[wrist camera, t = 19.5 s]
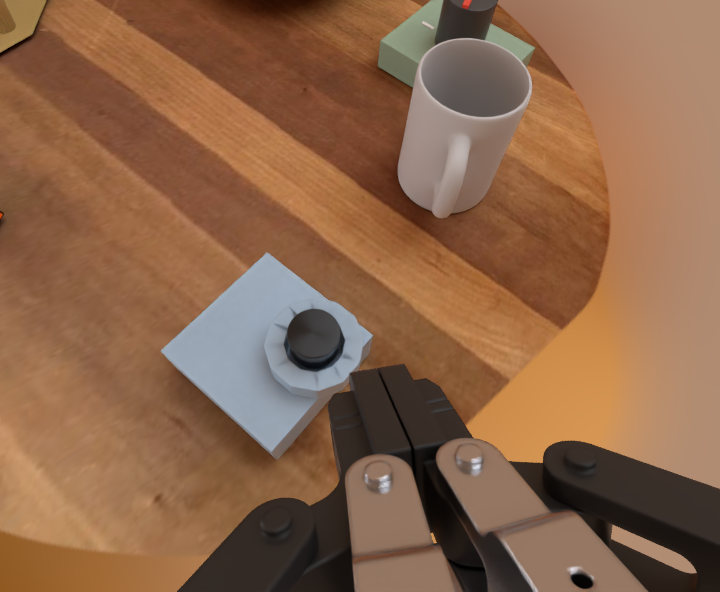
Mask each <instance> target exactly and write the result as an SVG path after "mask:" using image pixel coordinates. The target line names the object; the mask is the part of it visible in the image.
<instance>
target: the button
mask: <svg viewBox="0 0 720 592" xmlns="http://www.w3.org/2000/svg"><path fill="white" fill-rule="evenodd" d="M287 339H288V344H289V348H290V352H291V355H292V356H293V358H294V359H295V360H296V361H297V362H298V363H299V364H301V365H302V366H305V367H308V368H320V367H324V366H326V365H328V364H329V363H331V362H332V361H333V360H334V359H335V357H336V356H337V354H338V351H339V347H340V327H339V324H338V322H337V320H336V319H335V318H334V317H333V316H332V315H331V314H330V313H328V312H326V311H324V310H320V309H308V310H305V311H302V312H300V313H299V314H297V315H296V316H295V317H294V318H293V319H292V320H291V322H290V324H289V326H288V329H287Z"/></svg>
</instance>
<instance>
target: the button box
mask: <svg viewBox="0 0 720 592" xmlns="http://www.w3.org/2000/svg"><path fill="white" fill-rule="evenodd" d="M308 309H320V310H324V311H326V312H328V313H330V314H331V315H332V316H333V317H334V318H335V319H336V320H337V322H338V324H339V327H340V347H339V351H338V354H337V356H336V357H335V359H334V360H333V361H332V362H331V363H329V364H328V365H326V366H324V367H320V368H308V367H305V366H302V365H301V364H299V363H298V362H297V361H296V360H295V359H294V358H293V356H292V355H291V352H290V348H289V344H288V339H287V329H288V326H289V324H290V322H291V320H292V319H293V318H294V317H295V316H296V315H297V314H299V313H300V312H302V311H305V310H308ZM372 339H373V335H372V334H371V333H370V332H368V331H367V330H366V329H365V328H363V327H362V326H361V325H359V324H358V322H357V320H356V317H355V316H354V315H352V314H351V313H350V312H349V311H347V310H346V309H345V308H343V307H342V306H341V305H340V304H338V303H337V302H334V301H329V300H327V299H326V298H325V297H324V296H322V295H321V294H320V293H318V292H317V291H316V290H315V289H313V288H312V287H311V286H310V285H308V284H307V283H306V282H304V281H303V280H302V279H301V278H299V277H298V276H297V275H295V274H294V273H293V272H292V271H290V270H289V269H288V268H287V267H285V266H284V265H283V264H281V263H280V262H279V261H278V260H276V259H275V258H274V257H272V256H271V255H270V254H269V253H266V254H265V255H264V256H263V257H262V258H261V259H259V260H258V261H257V262H256V263H255V264H254V265H253V266H252V267H251V268H250V269H249V270H248V271H246V272H245V273H244V274H243V275H242V276H241V277H240V278H239V279H238V280H237V281H236V282H235V283H233V284H232V285H231V286H230V287H229V288H228V289H227V290H226V291H225V292H224V293H223V294H222V295H220V296H219V297H218V298H217V299H216V300H215V301H214V302H213V303H212V304H211V305H210V306H209V307H207V308H206V309H205V310H204V311H203V312H202V313H201V314H200V315H199V316H198V317H197V318H196V319H195V320H193V321H192V322H191V323H190V324H189V325H188V326H187V327H186V328H185V329H184V330H183V331H182V332H180V333H179V334H178V335H177V336H176V337H175V338H174V339H173V340H172V341H171V342H170V343H169V344H167V345H166V346H165V347H164V348H163V349H162V350H161V352H162V353H163V355H164V356H165V357H166V358H167V359H168V360H169V361H170V362H171V363H172V364H173V365H174V366H175V367H176V368H177V369H178V370H179V371H180V372H181V373H182V374H183V375H184V376H186V377H187V378H188V379H189V380H190V381H191V382H192V383H193V384H194V385H195V386H196V387H198V388H199V389H200V390H201V391H202V392H203V393H204V394H205V395H206V396H207V397H209V398H210V399H211V400H212V401H213V402H214V403H215V404H216V405H217V406H218V407H219V408H221V409H222V410H223V411H224V412H225V413H226V414H227V415H228V416H229V417H230V418H232V419H233V420H234V421H235V422H236V423H237V424H238V425H239V426H240V427H241V428H242V429H244V430H245V431H246V432H247V433H248V434H249V435H250V436H251V437H252V438H253V439H255V440H256V441H257V442H258V443H259V444H260V445H261V446H262V447H263V448H264V449H265V450H267V451H268V452H269V453H270V454H271V455H272V456H273V457H274V458H275V459H276V460H278V459H279V458H280V457H281V456H282V455H283V454H284V452H285V451H286V450H287V449H288V448H289V447H290V445H291V444H292V443H293V442H294V441H295V440H296V438H297V437H298V436H299V435H300V434H301V433H302V431H303V430H304V429H305V428H306V427H307V426H308V425H309V423H310V422H311V421H312V420H313V419H314V418H315V416H316V415H317V414H318V413H319V412H320V411H321V409H322V408H323V407H324V406H325V405H326V404H327V402H328V401H329V400H330V399H331V398H332V396H333V394H335V393H337V392H340V391H342V390H343V389H344V388H345V387H346V386H347V384H348V383H349V382H350V381H349V373H351V372H357V371H359V366H360V364H361V363H362V362H363V361H364V359H365V358H366V357H367V356H368V355H369V352H370V347H371V343H372Z"/></svg>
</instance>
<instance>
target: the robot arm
mask: <svg viewBox="0 0 720 592" xmlns="http://www.w3.org/2000/svg"><path fill="white" fill-rule="evenodd" d="M349 381H350V390H351V391H349V392H343V393H337V394H333V396H332V398H331V400H330V402H329V405H328V412H329V420H330V427H331V435H332V442H333V450H334V456H335V461H336V466H337V472H338V477H339V483H338V485H337V487H336V488H335V489H334V490H333V492H332V493H330V494H329V495H328V496H327V497H325V498H324V499H323V500H321V501H319V502H317V503H315V504H313V505H311V506H308V505H307V504H306V503H305V502H303V501H301V500H298V499H294V498H279V499H274V500H270V501H268V502H265V503H263V504H261V505H260V506H258V507H256V508H255V509H254V510H252V511H251V512H250V513H249V514H248V515H247V516H246V517H245V519H244V520H243V521H242V522H241V523H240V524H239V525H238V526H237V527H236V528H235V529H234V530H233V532H232V533H231V534H230V535H229V536H228V537H227V538H226V539H225V540H224V541H223V542H222V543H221V545H220V546H219V547H218V548H217V549H216V550H215V551H214V552H213V553H212V554H211V555H210V556H209V558H208V559H207V560H206V561H205V562H204V563H203V564H202V565H201V566H200V567H199V569H198V570H197V571H196V572H195V573H194V574H193V575H192V576H191V577H190V578H189V579H188V580H187V581H186V583H185V584H184V585H183V586H182V587H181V588H180V589H179V590H178V591H177V592H720V489H718V488H715V487H712V486H710V485H707V484H704V483H701V482H698V481H695V480H692V479H689V478H686V477H683V476H681V475H678V474H675V473H672V472H669V471H667V470H664V469H661V468H658V467H655V466H652V465H649V464H647V463H643V462H640V461H638V460H635V459H632V458H629V457H626V456H623V455H621V454H618V453H615V452H612V451H609V450H606V449H603V448H601V447H598V446H595V445H592V444H589V443H585V442H580V441H561V442H557V443H555V444H552V445H551V446H549V447H548V448H547V449H546V450H545V452H544V456H543V463H529V462H512V461H508V460H507V459H506V458H505V457H504V456H503V454H502V453H501V452H500V451H499V450H498V449H497V448H496V447H495V446H493V445H492V444H490V443H488V442H486V441H483V440H480V439H474V438H473V437H472V435H471V434H470V432H469V431H468V429H467V428H466V426H465V425H464V423H463V421H462V420H461V418H460V417H459V415H458V414H457V412H456V411H455V409H453V406H452V405H451V403H450V402H449V400H447V397H446V395H445V394H444V392H443V391H442V389H441V388H440V386H438V385H436V384H435V383H433V382H431V381H430V380H428V379H426V378H425V379H419V380H413V378H412V377H411V375H410V373H409V371H408V370H407V368H406V366H405V365H404V364H399V365H393V366H387V367H381V368H377V369H376V368H375V369H369V370H363V371H357V372H351V373H349ZM612 524H613V525H615V526H618V527H620V528H622V529H624V530H627V531H629V532H631V533H633V534H636V535H638V536H640V537H643V538H645V539H647V540H649V541H652V542H654V543H656V544H658V545H661V546H663V547H665V548H668V549H670V550H672V551H674V552H676V553H678V554H680V555H682V556H684V557H685V558H686V559H687V560H688V561H689V562H691V564H692V565H693V566H694V568H695V569H696V571H697V573H694V574H690V573H685V572H682V571H679V570H677V569H675V568H673V567H670V566H668V565H666V564H664V563H662V562H660V561H658V560H655V559H653V558H651V557H649V556H647V555H645V554H642V553H640V552H638V551H636V550H634V549H631V548H629V547H627V546H625V545H623V544H621V543H618V542H616V541H614V540H611V533H612ZM430 533H433V534H434V536H435V539H436V542H437V543H435V544H434V543H433V540H432V537H431V534H430Z"/></svg>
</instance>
